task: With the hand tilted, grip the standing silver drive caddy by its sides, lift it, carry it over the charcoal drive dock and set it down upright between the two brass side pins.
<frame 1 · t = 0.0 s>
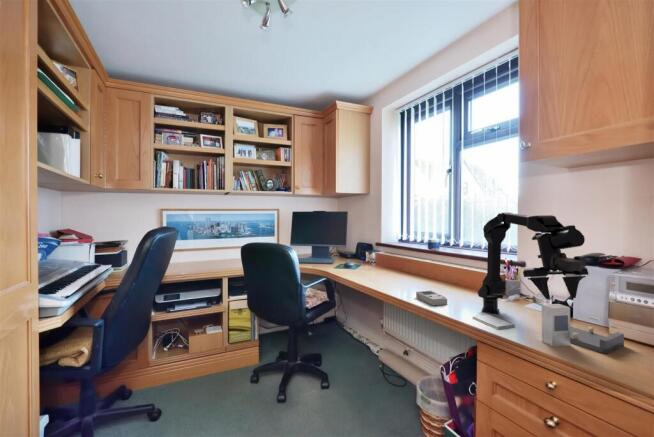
hand: (560, 298, 92), 15 cm above the table, tool pointing down, fingers open, 9 cm apart
drive caddy: (555, 343, 94), on the table
drive dock: (583, 340, 96), on the table
hard drive: (492, 324, 113), on the table
handheld gaming device: (431, 302, 143), on the table
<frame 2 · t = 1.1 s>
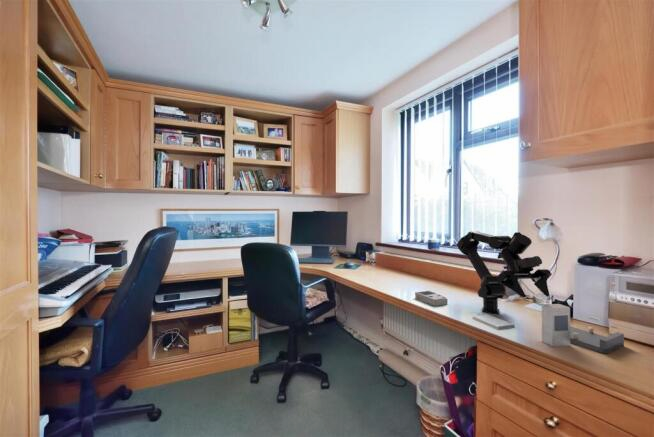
hand: (536, 296, 102), 13 cm above the table, tool tilted 45°, fingers open, 9 cm apart
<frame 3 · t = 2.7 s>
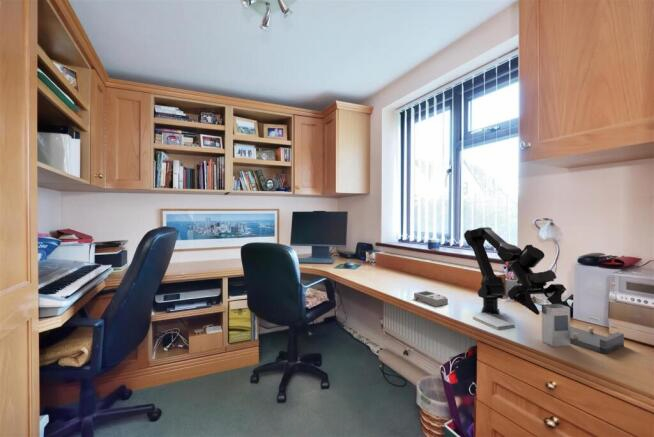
hand: (551, 313, 96), 9 cm above the table, tool tilted 45°, fingers open, 9 cm apart
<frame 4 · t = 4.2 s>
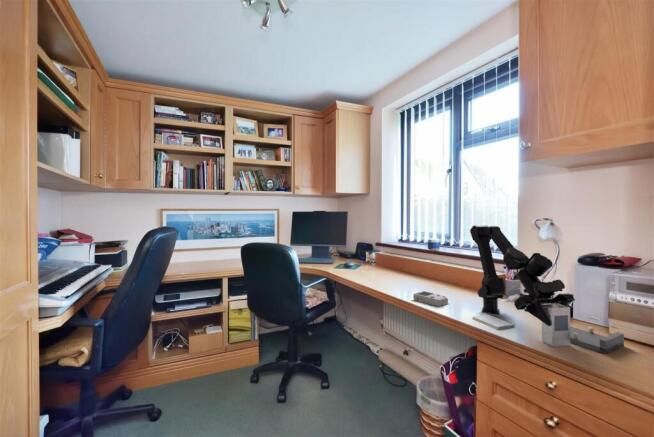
hand: (559, 325, 93), 7 cm above the table, tool tilted 45°, fingers closed on drive caddy, 6 cm apart
drive caddy: (555, 343, 94), on the table, touching gripper
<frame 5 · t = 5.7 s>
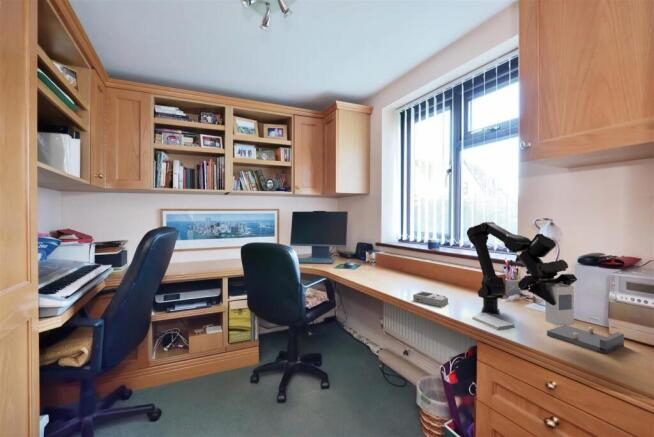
hand: (563, 304, 93), 13 cm above the table, tool tilted 45°, fingers closed on drive caddy, 6 cm apart
drive caddy: (559, 322, 94), point 7 cm above the table, touching gripper
when the fingers open (10 cm above the table, at t = 7.7 s): drive caddy drops 2 cm, resting on drive dock.
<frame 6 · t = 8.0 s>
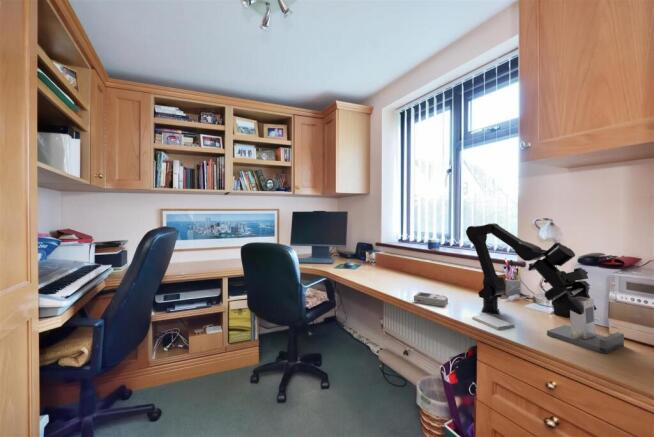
hand: (588, 312, 95), 10 cm above the table, tool tilted 45°, fingers open, 9 cm apart
drive caddy: (583, 335, 96), point 2 cm above the table, touching drive dock
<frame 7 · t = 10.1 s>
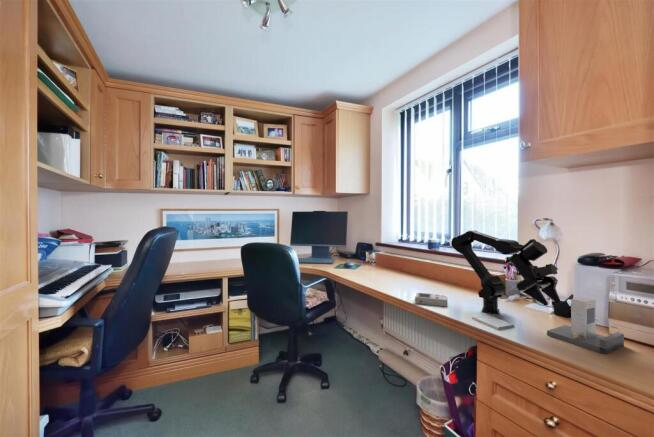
hand: (553, 304, 104), 10 cm above the table, tool tilted 40°, fingers open, 9 cm apart
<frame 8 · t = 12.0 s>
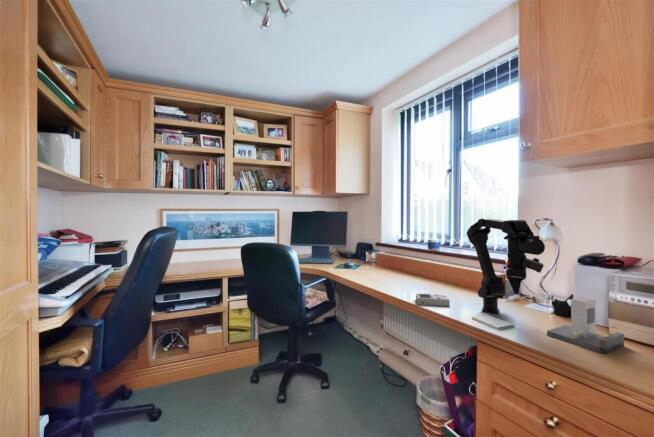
hand: (516, 291, 111), 13 cm above the table, tool pointing down, fingers open, 9 cm apart
at the end: drive caddy 0.0 cm off-centre on the drive dock, point 1.5 cm above the drive dock's base; drive caddy tilted 0°; the gripper is holding nothing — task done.
